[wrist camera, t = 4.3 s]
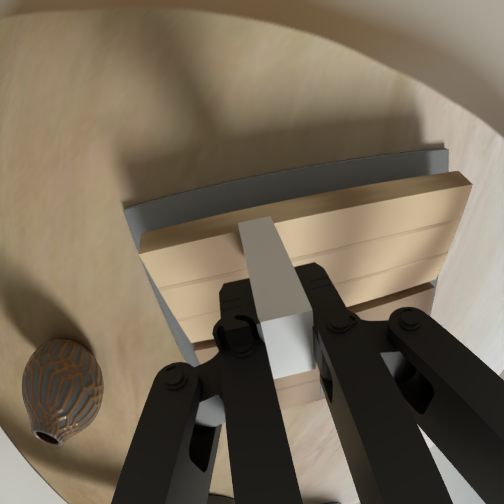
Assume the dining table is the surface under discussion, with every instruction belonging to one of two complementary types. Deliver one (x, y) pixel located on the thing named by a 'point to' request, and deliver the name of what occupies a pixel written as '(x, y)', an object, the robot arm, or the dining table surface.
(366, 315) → the laid board
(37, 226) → the dining table surface
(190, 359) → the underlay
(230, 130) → the dining table surface
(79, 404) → the vase
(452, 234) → the plank
